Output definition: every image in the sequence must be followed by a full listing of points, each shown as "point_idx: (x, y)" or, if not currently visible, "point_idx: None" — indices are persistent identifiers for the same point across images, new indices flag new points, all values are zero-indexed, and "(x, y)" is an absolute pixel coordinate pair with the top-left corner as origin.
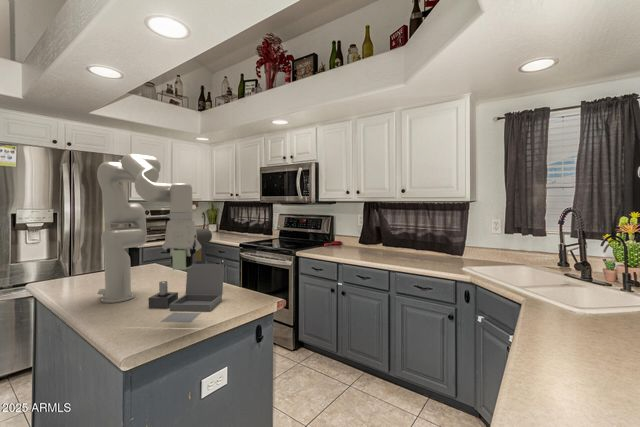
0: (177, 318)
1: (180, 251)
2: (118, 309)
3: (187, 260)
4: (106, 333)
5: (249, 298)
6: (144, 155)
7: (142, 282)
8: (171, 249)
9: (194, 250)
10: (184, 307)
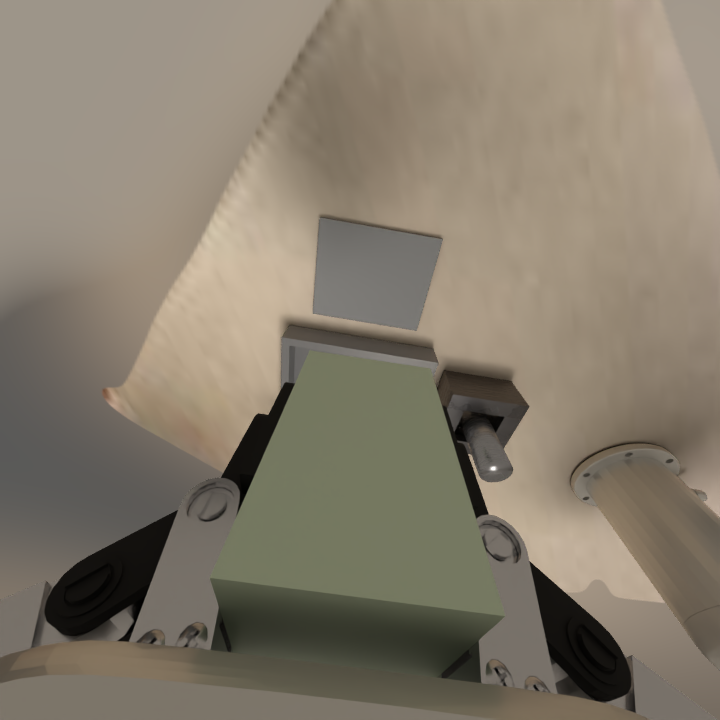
0: (384, 266)
1: (319, 564)
2: (612, 390)
3: (264, 429)
4: (646, 135)
5: (212, 429)
6: None
7: (560, 567)
8: (534, 659)
9: (74, 582)
10: (381, 347)
